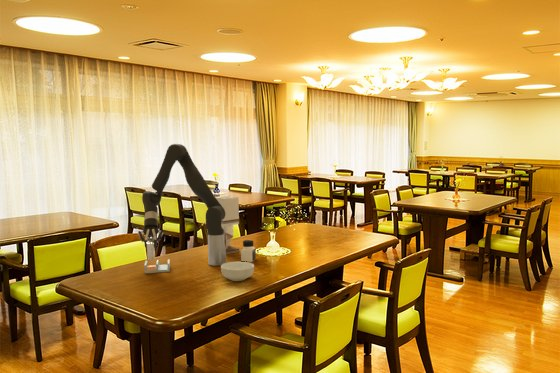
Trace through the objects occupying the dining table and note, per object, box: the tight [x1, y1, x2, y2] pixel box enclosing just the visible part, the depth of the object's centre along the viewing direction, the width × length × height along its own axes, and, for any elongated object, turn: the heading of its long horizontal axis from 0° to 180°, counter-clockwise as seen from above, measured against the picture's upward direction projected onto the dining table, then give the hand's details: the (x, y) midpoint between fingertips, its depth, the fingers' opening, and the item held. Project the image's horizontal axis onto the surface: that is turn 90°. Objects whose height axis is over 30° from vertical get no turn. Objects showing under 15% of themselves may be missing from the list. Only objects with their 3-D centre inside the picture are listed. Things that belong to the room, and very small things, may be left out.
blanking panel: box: [146, 237, 156, 261], centre depth 246 cm, size 6×4×10 cm, turn 13°
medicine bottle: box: [240, 239, 257, 263], centre depth 266 cm, size 7×7×12 cm
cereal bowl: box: [220, 260, 255, 282], centre depth 230 cm, size 17×17×7 cm
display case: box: [215, 195, 240, 255], centre depth 288 cm, size 11×11×35 cm
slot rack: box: [143, 258, 171, 274], centre depth 248 cm, size 11×13×4 cm
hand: (150, 247), depth 244 cm, fingers closed on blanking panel, 3 cm apart
